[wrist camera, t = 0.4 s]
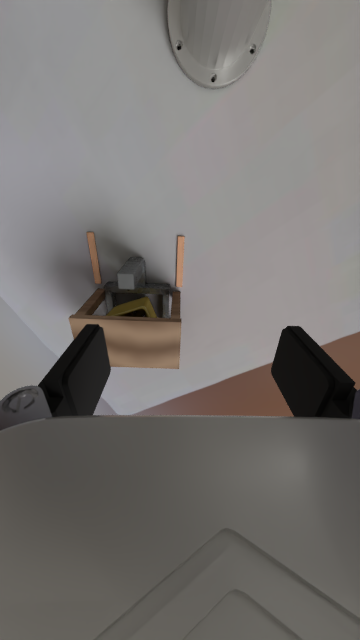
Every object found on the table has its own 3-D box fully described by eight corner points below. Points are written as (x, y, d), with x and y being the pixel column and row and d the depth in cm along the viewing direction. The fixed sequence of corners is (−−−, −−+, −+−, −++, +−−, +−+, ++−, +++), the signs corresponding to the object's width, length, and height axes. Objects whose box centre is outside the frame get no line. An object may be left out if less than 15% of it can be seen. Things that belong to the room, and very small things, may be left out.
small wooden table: (97, 287, 45) (68, 318, 34) (181, 290, 45) (181, 322, 34) (103, 327, 50) (80, 365, 39) (179, 329, 51) (179, 368, 39)
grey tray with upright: (104, 256, 42) (83, 272, 33) (169, 259, 42) (166, 275, 33) (114, 333, 51) (100, 362, 42) (168, 335, 51) (166, 364, 42)
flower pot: (131, 330, 51) (122, 354, 43) (114, 298, 47) (100, 319, 39) (165, 320, 49) (162, 343, 41) (151, 286, 45) (144, 305, 37)
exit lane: (87, 232, 40) (86, 232, 39) (184, 236, 40) (184, 236, 40) (95, 283, 45) (95, 283, 44) (182, 286, 45) (181, 286, 45)
